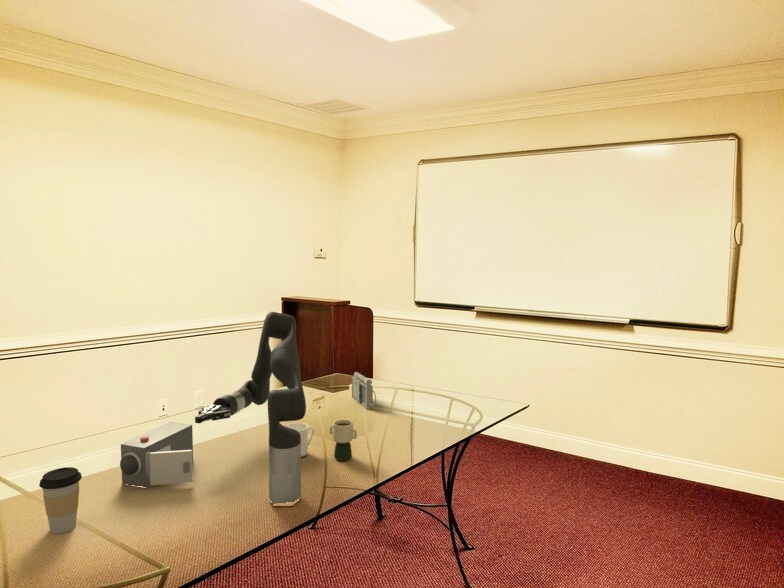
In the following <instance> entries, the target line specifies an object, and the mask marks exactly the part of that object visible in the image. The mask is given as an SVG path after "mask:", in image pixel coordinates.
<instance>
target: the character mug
mask: <svg viewBox="0 0 784 588" xmlns="http://www.w3.org/2000/svg"><path fill="white" fill-rule="evenodd" d="M329 435H332V439H333V442H334V443H335V445H334V446H335V447H334V452H333V453H334V455H333V457H334V459H336V460H339V461H344V460H349V459H350V458H352V457H353V455H352V454H353V452H352V445H351V442H352V441H353V439H354V440H357V438H358V431H357V429H354V422H353V421H352V420H349V419H338V420H337V419H336V420H335V421H333V425H330V426H329Z"/></svg>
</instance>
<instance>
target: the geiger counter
mask: <svg viewBox="0 0 784 588" xmlns="http://www.w3.org/2000/svg"><path fill="white" fill-rule="evenodd" d="M372 384H373V381H372V380H371V379H370V378H368V377H366V376H364V375H362V374H361V373H359V372H358V371H355V372H354V373H353V376H351V399H352V398H354V399H355V400H356V401H357V402H358V404H359V405H360V406H361V407H363V409H365V410H372V409H373V406H375V405H376V403H377V395H376V392H375V390H374V389H373V385H372ZM373 394H374V400H373ZM355 400H354V401H355ZM356 401H355V402H356ZM373 401H374V403H373ZM357 402H356V403H357Z"/></svg>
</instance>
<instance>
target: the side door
mask: <svg viewBox="0 0 784 588" xmlns="http://www.w3.org/2000/svg"><path fill="white" fill-rule="evenodd" d="M145 476H146V487H148V488H149V487H151V486H159V485H161V486H162V485H173V484H185V483H187V484H188V483H192V482H193V462H192V450H180V451H165V452H145Z"/></svg>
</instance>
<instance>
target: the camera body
mask: <svg viewBox="0 0 784 588" xmlns="http://www.w3.org/2000/svg"><path fill="white" fill-rule="evenodd" d="M193 433H194V432H193V424H189V423H181V422H175V421H170V422H167V423H165V424H163V425H160V426H158V427H156V428H154V429H151V430H149V431H147V432H144V433H142V434H140V435H138V436H136V437H133V438H132V439H129V440H127V441H125V442H122V443H121V444H120V458H121V459H120V462H119V467H120V469H121V484H128V485H135V486H143V487H146V476H145V452H165V451H180V450H192V461H193V462H194V442H193V440H194V439H193V438H194V437H193ZM128 485H127V486H128Z"/></svg>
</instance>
